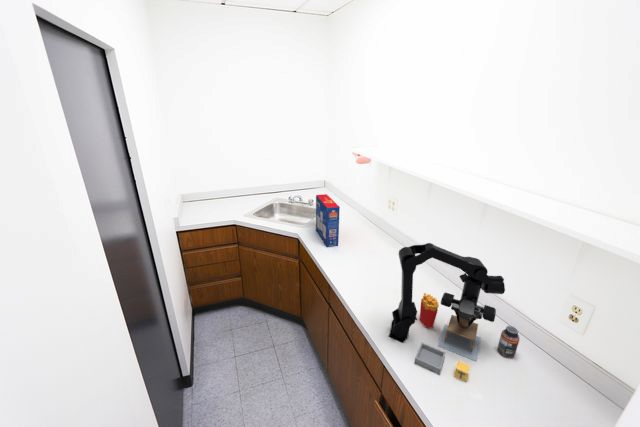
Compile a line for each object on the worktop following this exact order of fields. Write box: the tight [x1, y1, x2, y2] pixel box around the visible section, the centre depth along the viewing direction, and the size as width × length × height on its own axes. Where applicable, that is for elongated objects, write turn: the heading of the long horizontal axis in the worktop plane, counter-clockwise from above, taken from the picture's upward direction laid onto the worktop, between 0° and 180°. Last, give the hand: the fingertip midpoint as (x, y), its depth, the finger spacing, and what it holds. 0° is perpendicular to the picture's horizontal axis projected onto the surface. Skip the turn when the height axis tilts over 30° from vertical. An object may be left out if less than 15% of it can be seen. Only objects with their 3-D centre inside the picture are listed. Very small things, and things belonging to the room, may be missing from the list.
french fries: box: [419, 292, 439, 329], centre depth 127 cm, size 9×4×13 cm, turn 15°
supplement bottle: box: [497, 325, 520, 359], centre depth 112 cm, size 6×6×11 cm
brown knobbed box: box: [445, 314, 479, 352], centre depth 117 cm, size 10×10×10 cm
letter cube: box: [453, 360, 471, 383], centre depth 104 cm, size 4×4×4 cm
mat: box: [437, 323, 482, 362], centre depth 119 cm, size 14×14×1 cm
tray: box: [413, 342, 447, 375], centre depth 110 cm, size 9×9×2 cm
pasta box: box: [315, 193, 341, 248], centre depth 203 cm, size 28×8×28 cm, turn 16°
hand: (463, 323), depth 117 cm, fingers closed on brown knobbed box, 3 cm apart
